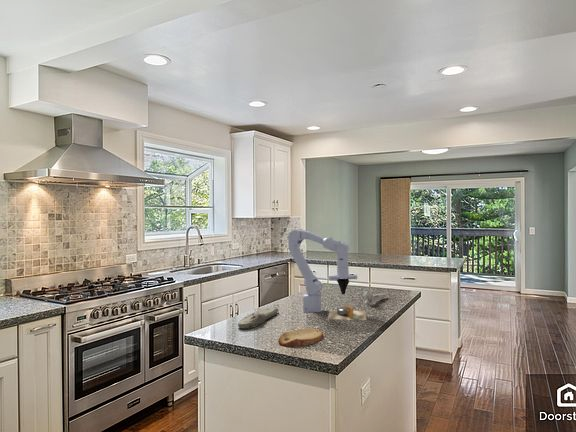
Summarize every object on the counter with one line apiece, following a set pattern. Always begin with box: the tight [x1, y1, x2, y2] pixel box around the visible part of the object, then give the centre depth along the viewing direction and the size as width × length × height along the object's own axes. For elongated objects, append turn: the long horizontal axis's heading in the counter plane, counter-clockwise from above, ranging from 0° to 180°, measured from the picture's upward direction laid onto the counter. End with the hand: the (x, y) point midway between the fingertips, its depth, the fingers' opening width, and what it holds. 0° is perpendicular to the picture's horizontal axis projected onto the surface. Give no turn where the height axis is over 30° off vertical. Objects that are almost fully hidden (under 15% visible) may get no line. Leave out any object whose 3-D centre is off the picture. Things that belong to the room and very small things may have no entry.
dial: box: [336, 304, 354, 318], centre depth 188 cm, size 13×8×5 cm, turn 11°
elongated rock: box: [237, 306, 279, 330], centre depth 186 cm, size 35×5×10 cm
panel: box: [327, 309, 367, 321], centre depth 189 cm, size 18×18×1 cm
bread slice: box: [277, 327, 324, 348], centre depth 156 cm, size 18×18×4 cm
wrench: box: [362, 291, 388, 307], centre depth 220 cm, size 8×2×30 cm
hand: (343, 294), depth 196 cm, fingers closed
